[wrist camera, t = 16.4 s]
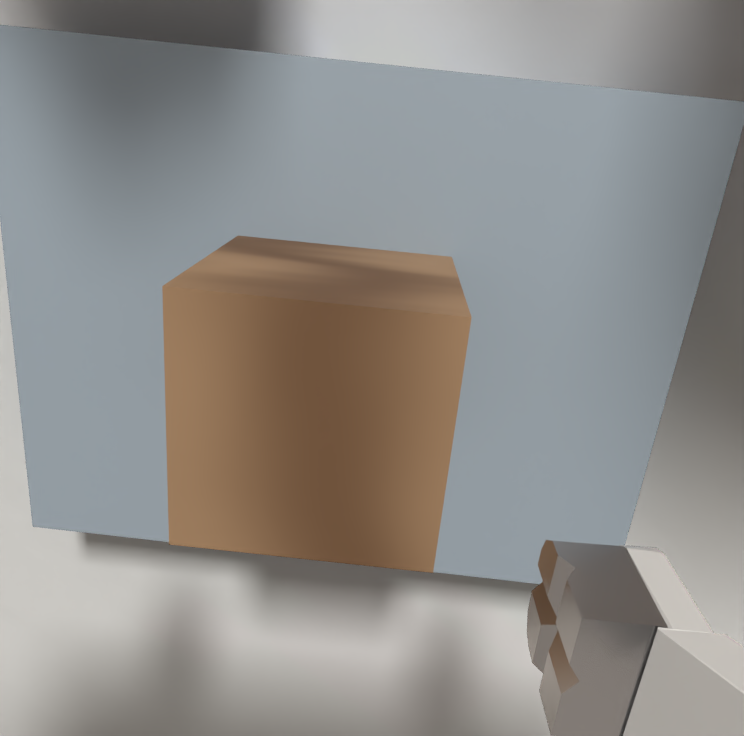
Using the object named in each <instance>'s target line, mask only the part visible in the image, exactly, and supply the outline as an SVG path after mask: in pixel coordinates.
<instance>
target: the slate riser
mask: <svg viewBox="0 0 744 736" xmlns="http://www.w3.org/2000/svg"><path fill="white" fill-rule="evenodd" d="M743 126H744V101H734V100H724V99H714V98H705V97H695V96H685V95H676V94H666V93H656V92H647V91H637V90H627V89H618V88H608V87H598V86H589V85H579V84H569V83H560V82H550V81H540V80H530V79H521V78H511V77H501V76H492V75H482V74H472V73H463V72H453V71H443V70H434V69H424V68H414V67H405V66H395V65H385V64H376V63H366V62H356V61H346V60H337V59H327V58H317V57H308V56H298V55H288V54H279V53H269V52H259V51H250V50H240V49H230V48H221V47H211V46H201V45H191V44H182V43H172V42H162V41H153V40H143V39H133V38H124V37H114V36H104V35H95V34H85V33H75V32H66V31H56V30H46V29H37V28H27V27H17V26H7V25H0V222H1V232H2V241H3V250H4V260H5V269H6V279H7V288H8V298H9V307H10V316H11V326H12V335H13V345H14V354H15V364H16V373H17V383H18V392H19V401H20V411H21V420H22V430H23V439H24V449H25V458H26V468H27V477H28V486H29V496H30V505H31V515H32V524H33V527H41V528H49V529H58V530H67V531H76V532H85V533H93V534H102V535H111V536H120V537H129V538H137V539H146V540H155V541H164V542H169V525H168V487H167V448H166V409H165V371H164V332H163V293H162V286H163V285H165V284H166V283H168V282H169V281H171V280H172V279H174V278H175V277H177V276H178V275H180V274H181V273H183V272H184V271H186V270H187V269H188V268H190V267H191V266H193V265H194V264H196V263H197V262H199V261H200V260H202V259H203V258H205V257H206V256H208V255H209V254H211V253H212V252H214V251H215V250H217V249H218V248H220V247H221V246H223V245H224V244H226V243H227V242H229V241H230V240H232V239H233V238H235V237H236V236H248V237H258V238H268V239H278V240H288V241H298V242H308V243H319V244H329V245H339V246H349V247H359V248H369V249H379V250H389V251H399V252H409V253H419V254H429V255H439V256H449V257H452V259H453V262H454V265H455V268H456V271H457V274H458V277H459V280H460V283H461V286H462V289H463V293H464V296H465V299H466V302H467V305H468V308H469V311H470V314H471V317H472V318H471V325H470V331H469V338H468V345H467V351H466V358H465V365H464V371H463V378H462V385H461V391H460V398H459V404H458V411H457V418H456V424H455V431H454V438H453V444H452V451H451V457H450V464H449V471H448V477H447V484H446V491H445V497H444V504H443V510H442V517H441V524H440V530H439V537H438V544H437V550H436V557H435V563H434V570H433V572H437V573H446V574H455V575H463V576H472V577H481V578H490V579H499V580H507V581H516V582H525V583H534V584H541V583H542V582H543V580H542V577H541V574H540V571H539V567H538V561H539V557H540V553H541V549H542V547H543V545H544V543H545V541H546V540H555V541H567V542H579V543H591V544H603V545H615V546H619V545H623V546H625V542H626V539H627V535H628V532H629V528H630V525H631V521H632V518H633V514H634V511H635V507H636V504H637V500H638V496H639V493H640V489H641V486H642V482H643V479H644V475H645V472H646V468H647V465H648V461H649V458H650V454H651V451H652V447H653V444H654V440H655V436H656V433H657V429H658V426H659V422H660V419H661V415H662V412H663V408H664V405H665V401H666V398H667V394H668V391H669V387H670V383H671V380H672V376H673V373H674V369H675V366H676V362H677V359H678V355H679V352H680V348H681V345H682V341H683V338H684V334H685V331H686V327H687V323H688V320H689V316H690V313H691V309H692V306H693V302H694V299H695V295H696V292H697V288H698V285H699V281H700V278H701V274H702V271H703V267H704V263H705V260H706V256H707V253H708V249H709V246H710V242H711V239H712V235H713V232H714V228H715V225H716V221H717V218H718V214H719V211H720V207H721V203H722V200H723V196H724V193H725V189H726V186H727V182H728V179H729V175H730V172H731V168H732V165H733V161H734V158H735V154H736V151H737V147H738V143H739V140H740V136H741V133H742V129H743Z"/></svg>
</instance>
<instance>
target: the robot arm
mask: <svg viewBox="0 0 744 736" xmlns="http://www.w3.org/2000/svg"><path fill="white" fill-rule="evenodd" d="M538 567H539V571H540V574H541V577H542V580H543V582H542V583H541V584H539V585H538V586H537V587H536V588H535V589H534V590H532V592H531V597H530V602H529V607H528V616H527V638H528V647H529V651H530V656H531V660H532V663H533V664H534V665H535V666H536V667H537V668H538V669H539V670H540V671H541V672H542V673H543V676H542V680H541V685H540V689H539V692H540V696H541V700H542V704H543V707H544V711H545V715H546V719H547V723H548V727H549V731H550V734H551V735H552V736H744V646H743V645H741V644H740V643H738V642H737V641H735V640H734V639H732V638H731V637H729V636H728V635H726V634H718V633H714V632H713V631H712V629H711V627H710V626H709V624H708V623H707V621H706V619H705V618H704V616H703V615H702V613H701V611H700V610H699V608H698V607H697V605H696V604H695V602H694V600H693V599H692V597H691V596H690V594H689V592H688V591H687V589H686V588H685V586H684V584H683V583H682V581H681V580H680V578H679V576H678V575H677V573H676V572H675V570H674V569H673V567H672V565H671V564H670V562H669V561H668V559H667V557H666V556H665V554H664V553H663V552H662V551H660V550H659V549H657V548H653V547H638V546H623V545H619V546H615V545H603V544H591V543H579V542H567V541H555V540H546V541H545V543H544V545H543V547H542V549H541V553H540V557H539V561H538Z"/></svg>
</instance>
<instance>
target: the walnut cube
mask: <svg viewBox="0 0 744 736" xmlns="http://www.w3.org/2000/svg"><path fill="white" fill-rule="evenodd" d="M162 293H163V332H164V371H165V409H166V448H167V487H168V525H169V545H179V546H188V547H197V548H207V549H216V550H225V551H235V552H244V553H253V554H262V555H272V556H281V557H290V558H300V559H309V560H318V561H328V562H337V563H346V564H355V565H365V566H374V567H383V568H393V569H402V570H411V571H421V572H430V573H433V570H434V563H435V557H436V550H437V544H438V537H439V530H440V524H441V517H442V510H443V504H444V497H445V491H446V484H447V477H448V471H449V464H450V457H451V451H452V444H453V438H454V431H455V424H456V418H457V411H458V404H459V398H460V391H461V385H462V378H463V371H464V365H465V358H466V351H467V345H468V338H469V331H470V325H471V318H472V317H471V314H470V311H469V308H468V305H467V302H466V299H465V296H464V293H463V289H462V286H461V283H460V280H459V277H458V274H457V271H456V268H455V265H454V262H453V259H452V257H449V256H439V255H429V254H419V253H409V252H399V251H389V250H379V249H369V248H359V247H349V246H339V245H329V244H319V243H308V242H298V241H288V240H278V239H268V238H258V237H248V236H236V237H235V238H233V239H232V240H230V241H229V242H227V243H226V244H224V245H223V246H221V247H220V248H218V249H217V250H215V251H214V252H212V253H211V254H209V255H208V256H206V257H205V258H203V259H202V260H200V261H199V262H197V263H196V264H194V265H193V266H191V267H190V268H188V269H187V270H186V271H184V272H183V273H181V274H180V275H178V276H177V277H175V278H174V279H172V280H171V281H169V282H168V283H166V284H165V285H163V286H162Z"/></svg>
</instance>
